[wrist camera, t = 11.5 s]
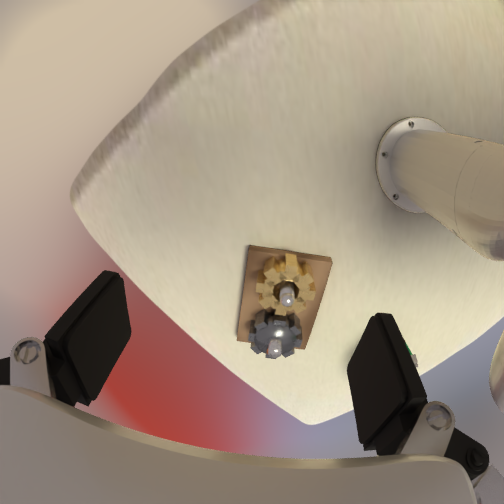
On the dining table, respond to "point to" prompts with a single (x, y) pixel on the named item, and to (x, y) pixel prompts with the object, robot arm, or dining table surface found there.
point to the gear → (275, 334)
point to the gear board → (251, 297)
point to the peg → (287, 293)
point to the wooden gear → (288, 272)
